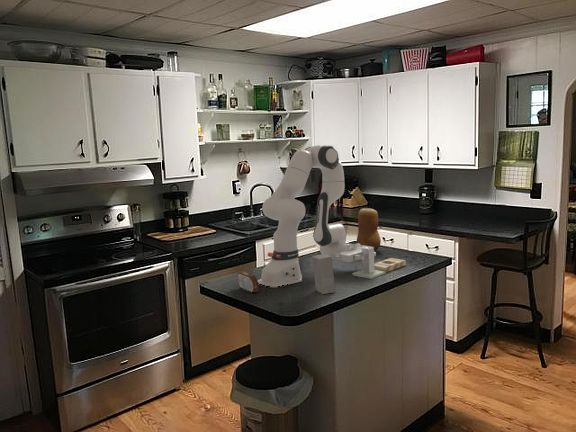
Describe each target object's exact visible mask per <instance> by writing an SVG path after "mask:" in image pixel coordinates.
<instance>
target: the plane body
mask: <svg viewBox="0 0 576 432" xmlns="http://www.w3.org/2000/svg"><path fill="white" fill-rule="evenodd" d="M406 264H407V261H406V260H405V259H399V258H394V257H389V258H387V259H384V260H380V261H377V262H374V268H375V270H379V271H384V272H385V274H386V273H389V272H390V271H394V270H397V269H399V268H402V267H405V266H407V265H406Z"/></svg>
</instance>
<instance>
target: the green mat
mask: <svg viewBox="0 0 576 432" xmlns="http://www.w3.org/2000/svg"><path fill="white" fill-rule="evenodd" d="M351 273H352V274H351V275H352V276H355V277H360V278H364V279H369V280H373V279H375V278H377V277H378V278H379V277H380V276H382V275H385V274H386V273H385V272H384V271H379V270H375V272H374V273H371V274H367V273H363V269H360V270H358V271H355V272H351Z"/></svg>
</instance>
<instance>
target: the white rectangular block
mask: <svg viewBox="0 0 576 432" xmlns="http://www.w3.org/2000/svg"><path fill="white" fill-rule="evenodd" d="M374 252H375V251H374V248H373V247H364V248H362V256H365V259H364V260H361V265H362V266H361V267H362V270H363V273H367V274H371V273H374V272H375V268H374V263H375V256H374Z"/></svg>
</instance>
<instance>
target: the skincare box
mask: <svg viewBox="0 0 576 432" xmlns="http://www.w3.org/2000/svg"><path fill="white" fill-rule="evenodd" d="M311 258H312V268H313V276H314V286H315V291H317V292H318V293H319V294H320V295H326V294H332V293H336V286H335V285H336V284H335V275H334V274H335V273H334V267H333V259H332V257H331V256H329V255H327V254H315V255H312V256H311Z"/></svg>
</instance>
